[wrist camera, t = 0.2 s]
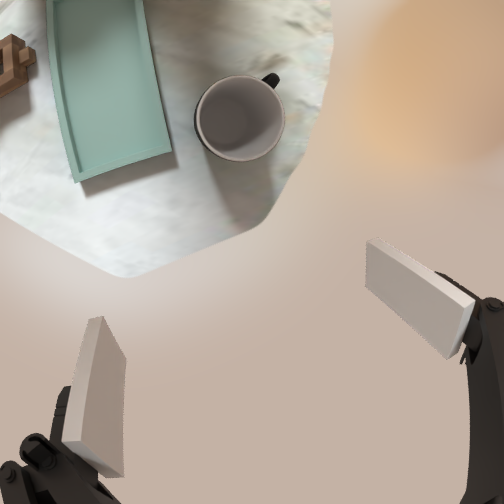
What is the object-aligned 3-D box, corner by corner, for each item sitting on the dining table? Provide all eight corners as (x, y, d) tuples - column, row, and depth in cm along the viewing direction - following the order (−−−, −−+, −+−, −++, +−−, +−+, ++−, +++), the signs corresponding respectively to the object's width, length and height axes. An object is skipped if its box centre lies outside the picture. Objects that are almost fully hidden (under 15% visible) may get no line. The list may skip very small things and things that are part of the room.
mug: (226, 168, 38) (245, 180, 29) (174, 126, 34) (176, 123, 25) (284, 104, 36) (319, 98, 28) (236, 60, 32) (259, 39, 23)
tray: (50, 4, 21) (46, -2, 19) (138, -27, 23) (137, -34, 21) (79, 180, 33) (74, 183, 31) (171, 150, 35) (172, 151, 33)
